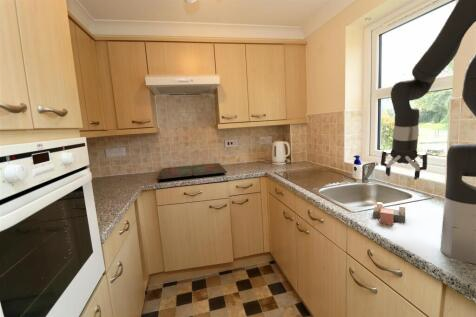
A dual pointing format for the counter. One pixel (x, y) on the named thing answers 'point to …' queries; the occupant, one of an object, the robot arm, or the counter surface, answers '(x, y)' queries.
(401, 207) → the breaker plain
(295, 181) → the counter surface
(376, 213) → the dark grey flat block
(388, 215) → the pink cube
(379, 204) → the breaker tagged
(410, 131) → the robot arm
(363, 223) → the counter surface
